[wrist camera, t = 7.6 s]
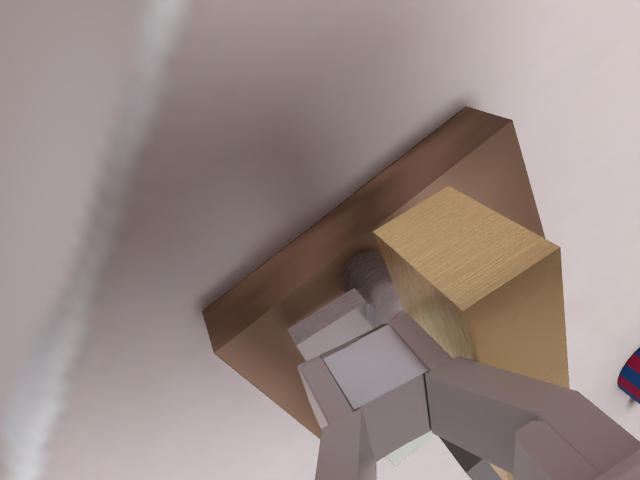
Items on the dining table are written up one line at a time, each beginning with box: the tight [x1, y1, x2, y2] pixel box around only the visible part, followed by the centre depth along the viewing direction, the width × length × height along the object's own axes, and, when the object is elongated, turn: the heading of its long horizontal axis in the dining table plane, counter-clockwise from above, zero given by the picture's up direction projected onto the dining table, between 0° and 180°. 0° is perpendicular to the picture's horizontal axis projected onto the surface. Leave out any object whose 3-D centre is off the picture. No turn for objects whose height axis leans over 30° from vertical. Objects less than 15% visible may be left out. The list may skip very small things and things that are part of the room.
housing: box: [202, 107, 545, 439], centre depth 24 cm, size 16×14×3 cm
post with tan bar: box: [288, 186, 569, 480], centre depth 13 cm, size 8×5×10 cm, turn 23°
